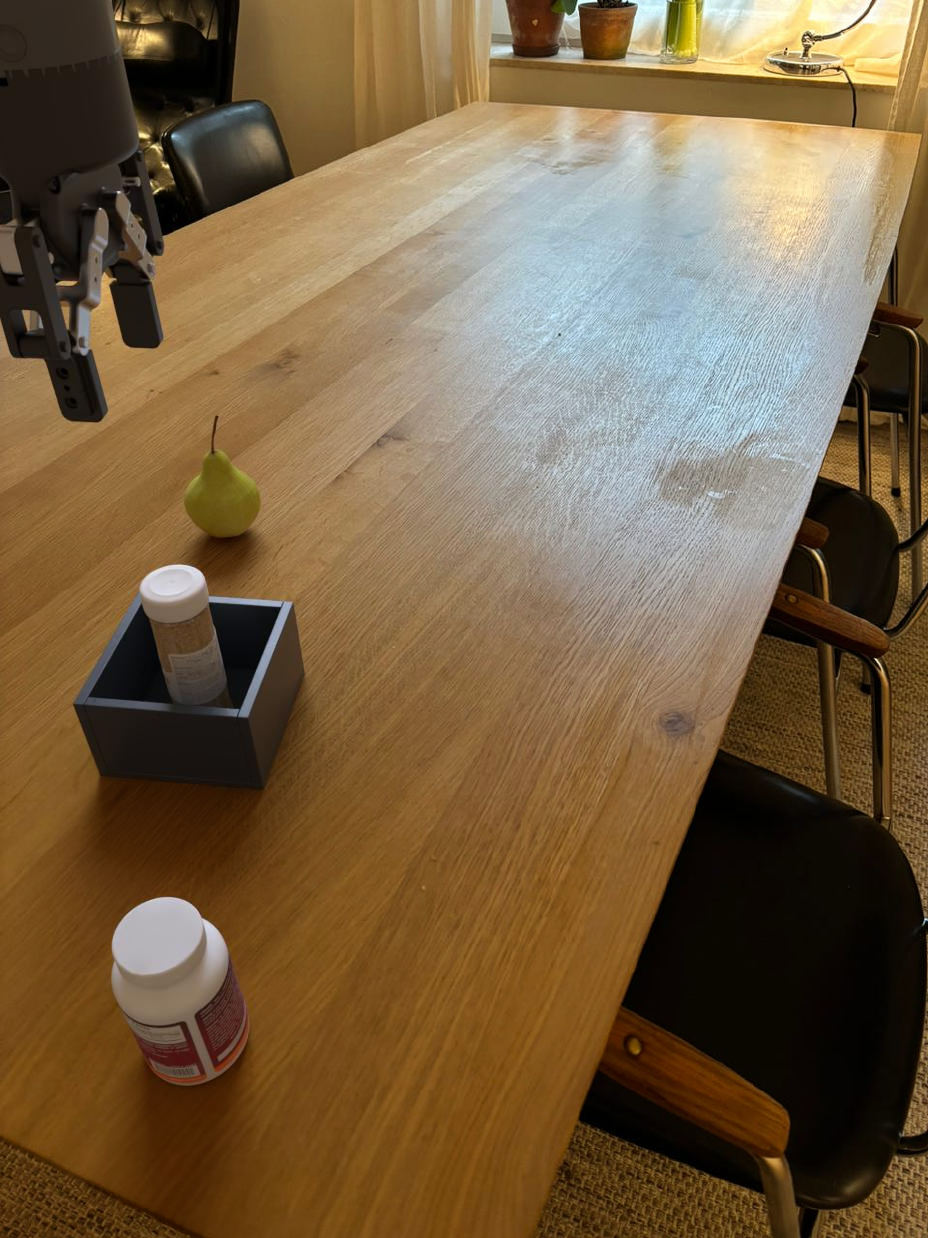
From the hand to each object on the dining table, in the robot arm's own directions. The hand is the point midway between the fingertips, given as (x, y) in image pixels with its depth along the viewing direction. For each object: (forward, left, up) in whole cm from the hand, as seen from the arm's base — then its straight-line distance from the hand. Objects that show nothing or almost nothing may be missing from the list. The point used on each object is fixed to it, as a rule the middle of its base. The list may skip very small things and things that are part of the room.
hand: (117, 380), depth 54 cm
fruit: (-8, +29, -32) cm, 44 cm away
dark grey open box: (-2, +4, -32) cm, 32 cm away
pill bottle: (+5, -21, -32) cm, 38 cm away
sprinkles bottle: (-2, +4, -31) cm, 32 cm away
